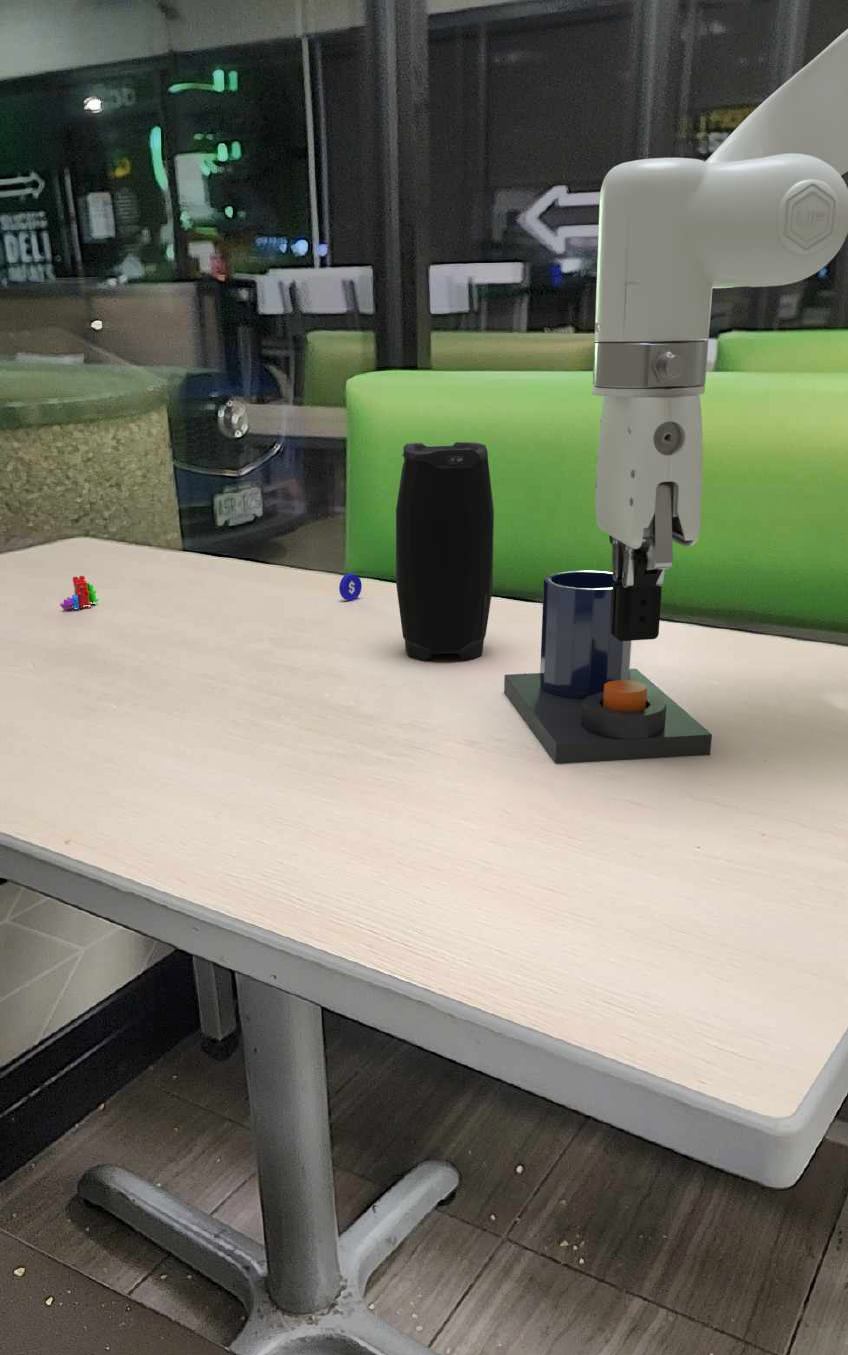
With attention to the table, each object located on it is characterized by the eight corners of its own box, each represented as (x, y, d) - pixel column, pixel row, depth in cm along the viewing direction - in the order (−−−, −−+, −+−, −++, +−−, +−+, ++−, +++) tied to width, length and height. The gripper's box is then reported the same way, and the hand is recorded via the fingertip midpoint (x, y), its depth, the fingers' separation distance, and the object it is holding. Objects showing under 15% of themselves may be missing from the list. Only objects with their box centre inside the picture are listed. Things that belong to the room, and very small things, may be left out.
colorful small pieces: (65, 613, 129) (61, 581, 128) (55, 608, 131) (50, 577, 130) (106, 606, 132) (102, 575, 131) (95, 602, 134) (92, 571, 133)
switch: (637, 700, 89) (639, 679, 88) (651, 713, 86) (653, 691, 85) (597, 702, 88) (599, 681, 88) (609, 715, 85) (611, 693, 85)
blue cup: (613, 672, 101) (620, 569, 97) (640, 697, 94) (648, 587, 91) (531, 675, 100) (535, 572, 96) (552, 701, 93) (557, 591, 90)
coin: (343, 602, 134) (343, 576, 133) (339, 601, 134) (338, 575, 133) (362, 598, 136) (361, 572, 135) (357, 597, 136) (357, 571, 135)
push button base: (635, 686, 103) (637, 648, 101) (710, 756, 86) (715, 711, 85) (504, 693, 101) (504, 654, 100) (555, 764, 85) (557, 720, 83)
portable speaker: (380, 652, 114) (376, 445, 106) (451, 636, 119) (452, 438, 111) (437, 670, 108) (437, 452, 100) (509, 653, 113) (514, 445, 105)
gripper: (746, 374, 71) (721, 661, 79) (665, 365, 85) (649, 611, 92) (629, 378, 70) (615, 668, 78) (566, 368, 84) (559, 616, 91)
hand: (634, 636), depth 85 cm, fingers closed
